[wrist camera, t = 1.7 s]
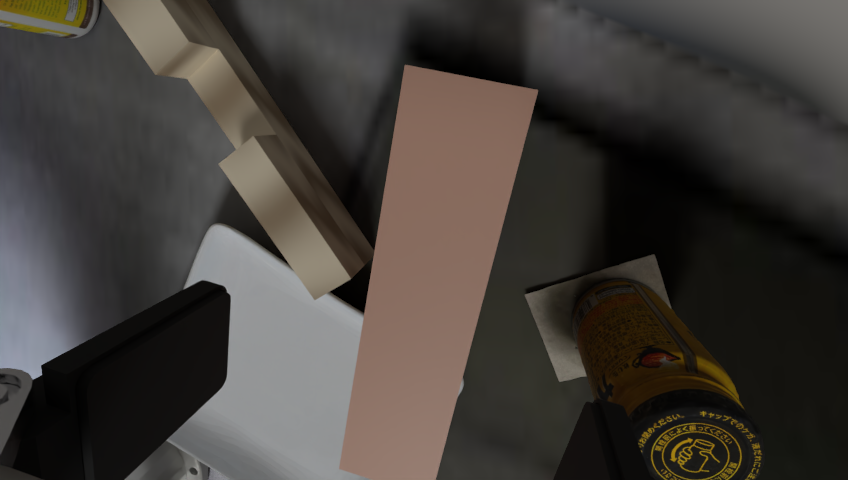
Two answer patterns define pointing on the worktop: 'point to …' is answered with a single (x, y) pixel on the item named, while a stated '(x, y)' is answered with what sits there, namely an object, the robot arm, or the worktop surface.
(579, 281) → the condiment
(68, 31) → the supplement bottle
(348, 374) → the salad plate
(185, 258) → the worktop surface
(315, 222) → the birch rail
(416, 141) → the pink rectangular slab
